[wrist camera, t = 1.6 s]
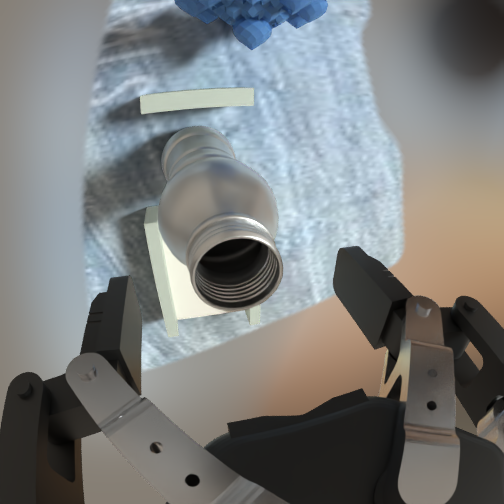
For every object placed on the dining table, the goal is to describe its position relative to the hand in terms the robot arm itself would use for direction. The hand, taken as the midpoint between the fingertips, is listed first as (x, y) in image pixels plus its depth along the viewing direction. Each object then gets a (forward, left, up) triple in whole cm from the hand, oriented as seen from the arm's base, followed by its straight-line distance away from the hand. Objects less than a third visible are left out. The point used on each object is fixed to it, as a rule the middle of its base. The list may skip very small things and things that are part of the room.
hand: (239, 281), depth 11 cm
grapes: (-13, +4, -21) cm, 25 cm away
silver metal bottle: (0, 0, -21) cm, 21 cm away
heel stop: (-6, 0, -20) cm, 21 cm away
